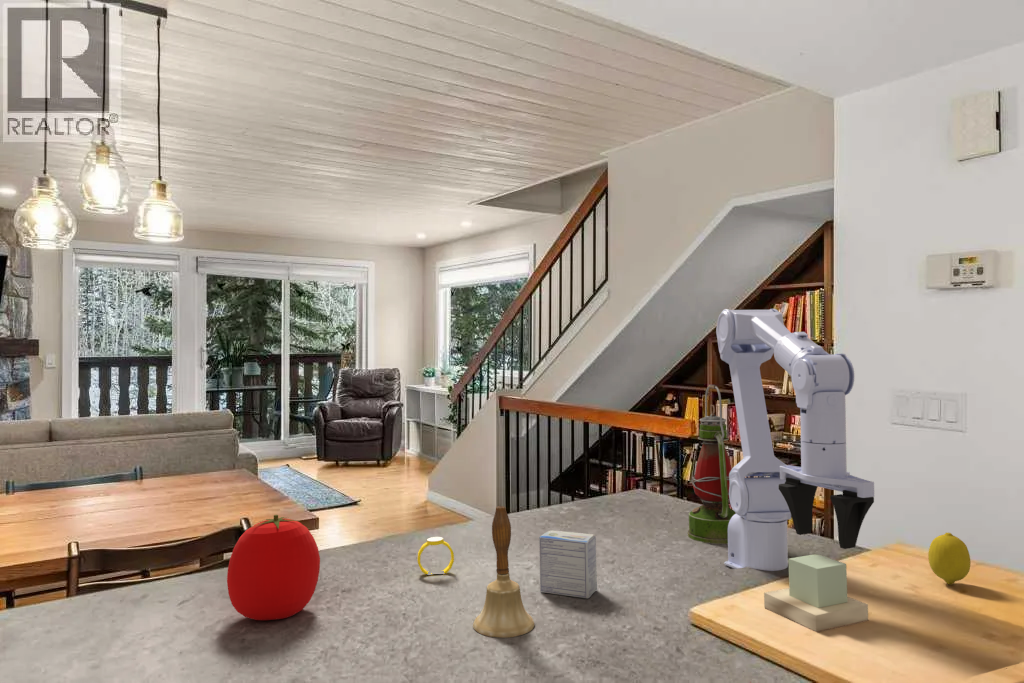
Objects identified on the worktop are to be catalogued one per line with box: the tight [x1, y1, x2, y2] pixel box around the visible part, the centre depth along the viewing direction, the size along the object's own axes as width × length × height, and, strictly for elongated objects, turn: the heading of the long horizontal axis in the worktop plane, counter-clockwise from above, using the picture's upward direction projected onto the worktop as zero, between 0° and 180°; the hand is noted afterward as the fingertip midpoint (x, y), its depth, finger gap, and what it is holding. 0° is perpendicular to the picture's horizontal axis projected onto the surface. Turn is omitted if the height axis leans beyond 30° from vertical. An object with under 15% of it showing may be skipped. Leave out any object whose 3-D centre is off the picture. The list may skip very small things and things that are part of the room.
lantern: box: [687, 384, 736, 545], centre depth 137 cm, size 14×11×30 cm
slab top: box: [763, 587, 869, 632], centre depth 92 cm, size 9×9×2 cm
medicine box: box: [538, 529, 598, 599], centre depth 106 cm, size 8×4×9 cm, turn 65°
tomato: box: [226, 514, 321, 621], centre depth 98 cm, size 13×11×14 cm
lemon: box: [927, 532, 972, 585], centre depth 107 cm, size 6×6×8 cm
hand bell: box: [472, 505, 535, 639], centre depth 93 cm, size 8×8×16 cm
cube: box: [788, 553, 848, 608], centre depth 92 cm, size 5×5×5 cm
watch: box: [416, 536, 455, 575], centre depth 115 cm, size 6×3×6 cm, turn 102°
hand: (824, 540), depth 95 cm, fingers open, 7 cm apart
